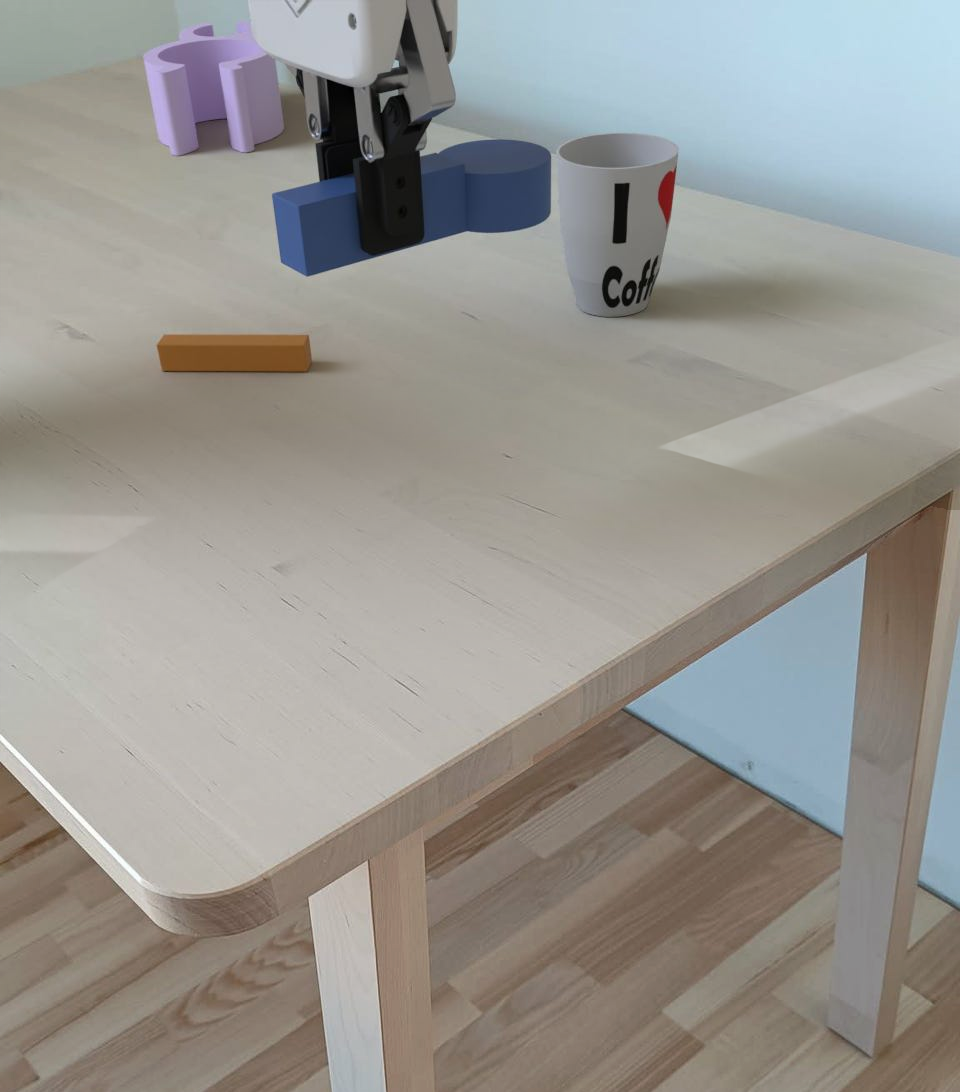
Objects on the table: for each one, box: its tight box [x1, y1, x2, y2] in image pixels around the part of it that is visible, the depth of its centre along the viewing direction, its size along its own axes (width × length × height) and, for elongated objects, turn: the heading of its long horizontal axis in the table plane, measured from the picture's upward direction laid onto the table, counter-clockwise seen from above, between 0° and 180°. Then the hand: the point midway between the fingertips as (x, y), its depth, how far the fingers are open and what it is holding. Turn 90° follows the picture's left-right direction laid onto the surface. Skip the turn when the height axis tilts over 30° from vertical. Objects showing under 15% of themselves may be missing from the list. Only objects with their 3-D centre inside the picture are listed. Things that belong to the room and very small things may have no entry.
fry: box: [156, 333, 313, 373], centre depth 85 cm, size 10×2×2 cm, turn 85°
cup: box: [555, 132, 680, 318], centre depth 88 cm, size 8×8×10 cm
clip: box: [142, 20, 285, 157], centre depth 126 cm, size 20×12×7 cm, turn 1°
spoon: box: [271, 138, 552, 278], centre depth 60 cm, size 14×6×3 cm, turn 126°
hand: (374, 235), depth 60 cm, fingers closed on spoon, 2 cm apart
